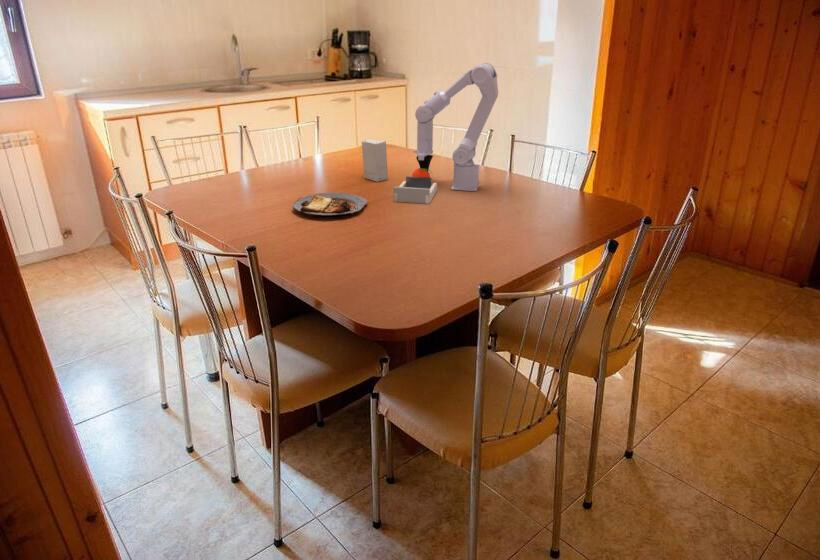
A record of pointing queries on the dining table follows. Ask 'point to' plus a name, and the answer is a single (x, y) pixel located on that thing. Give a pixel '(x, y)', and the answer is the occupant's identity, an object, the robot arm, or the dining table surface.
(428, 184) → the block
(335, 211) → the food plate
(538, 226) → the dining table surface
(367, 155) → the skincare box
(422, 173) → the clementine
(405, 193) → the grey open tray
